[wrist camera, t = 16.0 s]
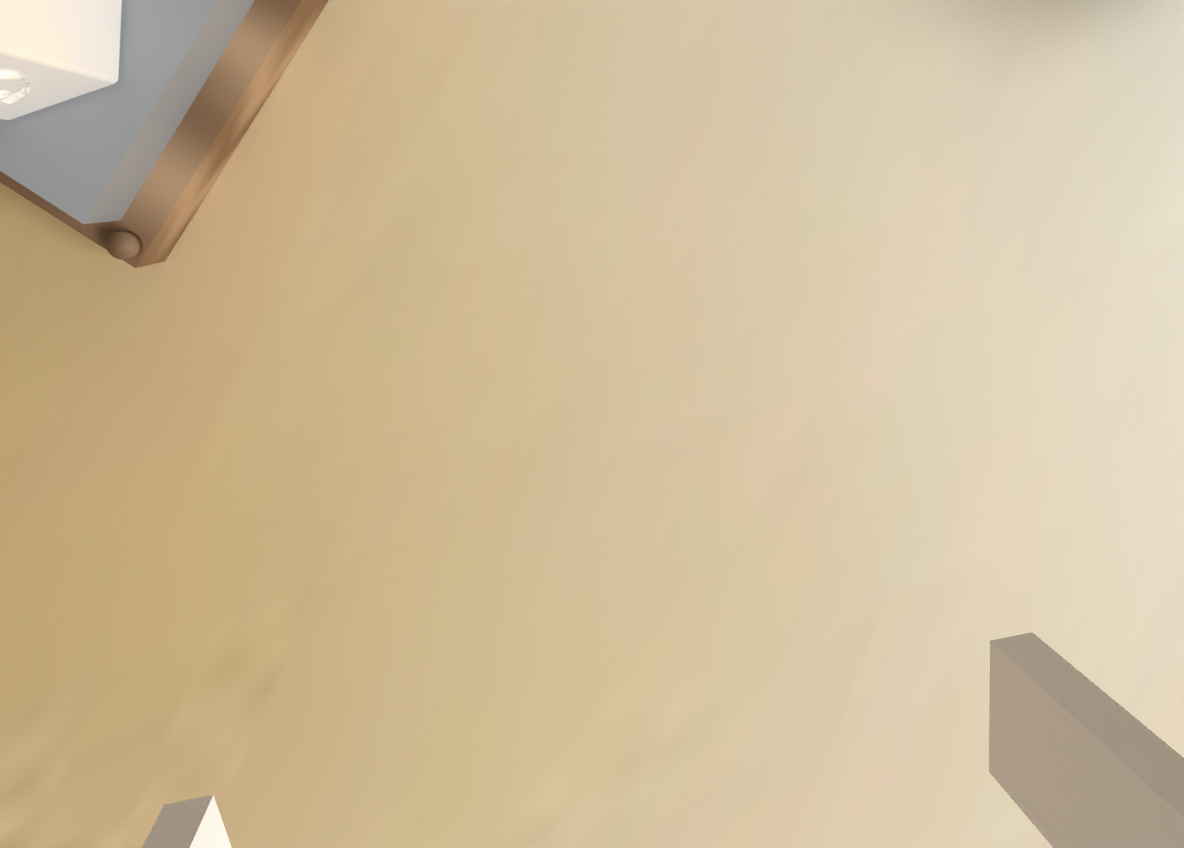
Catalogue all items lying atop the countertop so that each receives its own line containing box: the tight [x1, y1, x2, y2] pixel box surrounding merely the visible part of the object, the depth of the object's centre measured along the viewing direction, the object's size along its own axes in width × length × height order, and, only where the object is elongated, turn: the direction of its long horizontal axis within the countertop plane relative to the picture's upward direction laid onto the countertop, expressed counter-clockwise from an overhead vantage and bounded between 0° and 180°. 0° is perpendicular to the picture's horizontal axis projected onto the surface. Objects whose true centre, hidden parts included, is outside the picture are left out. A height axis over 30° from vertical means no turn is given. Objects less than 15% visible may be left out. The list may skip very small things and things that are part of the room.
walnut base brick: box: [0, 0, 328, 268], centre depth 35 cm, size 15×15×4 cm
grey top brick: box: [0, 0, 255, 224], centre depth 32 cm, size 12×12×4 cm
